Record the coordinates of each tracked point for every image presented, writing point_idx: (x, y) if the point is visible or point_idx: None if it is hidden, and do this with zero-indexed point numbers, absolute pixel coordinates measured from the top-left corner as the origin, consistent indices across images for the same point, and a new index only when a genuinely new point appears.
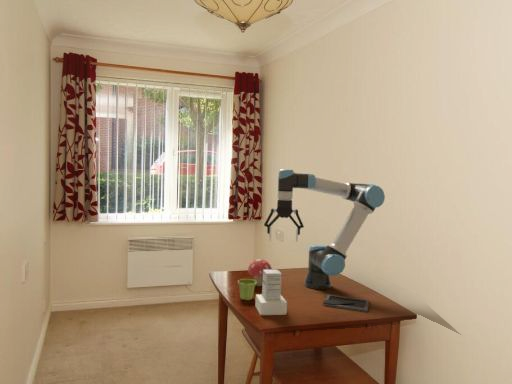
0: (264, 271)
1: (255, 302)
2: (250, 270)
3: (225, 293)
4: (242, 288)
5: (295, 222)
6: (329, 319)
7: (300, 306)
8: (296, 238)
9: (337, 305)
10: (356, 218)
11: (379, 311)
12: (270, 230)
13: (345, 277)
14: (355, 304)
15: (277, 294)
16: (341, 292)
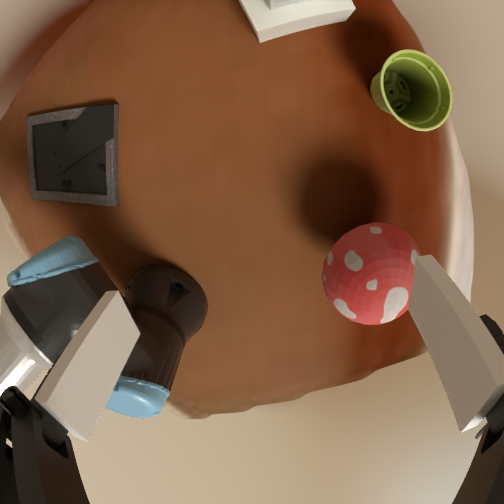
0: None
1: (347, 16)
2: (415, 244)
3: (455, 137)
4: (419, 67)
5: (24, 488)
6: (104, 7)
7: (186, 61)
8: (98, 311)
9: (79, 108)
10: None
11: (15, 137)
12: (488, 347)
13: None
14: (48, 151)
15: None
16: (97, 255)
